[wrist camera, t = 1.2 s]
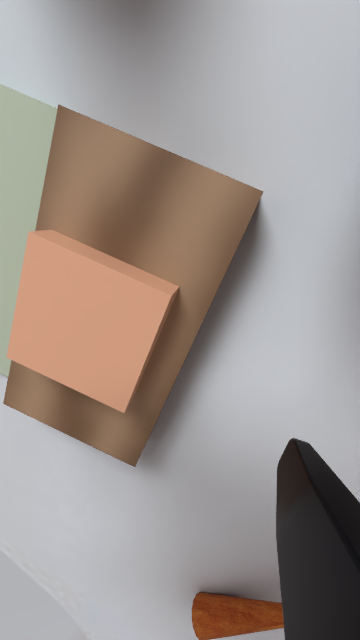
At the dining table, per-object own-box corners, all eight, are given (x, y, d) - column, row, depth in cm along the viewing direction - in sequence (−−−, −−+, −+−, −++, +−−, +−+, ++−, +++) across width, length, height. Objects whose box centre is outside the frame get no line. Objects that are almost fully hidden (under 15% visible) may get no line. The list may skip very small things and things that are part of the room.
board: (260, 195, 17) (263, 191, 14) (147, 438, 24) (134, 467, 22) (87, 122, 17) (58, 104, 14) (30, 382, 25) (3, 403, 22)
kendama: (176, 623, 26) (442, 626, 18) (196, 559, 31) (407, 539, 23) (207, 682, 26) (485, 711, 18) (222, 608, 31) (440, 604, 23)
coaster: (179, 286, 16) (171, 295, 14) (135, 394, 19) (124, 413, 18) (52, 229, 17) (28, 231, 15) (28, 344, 20) (6, 357, 18)
